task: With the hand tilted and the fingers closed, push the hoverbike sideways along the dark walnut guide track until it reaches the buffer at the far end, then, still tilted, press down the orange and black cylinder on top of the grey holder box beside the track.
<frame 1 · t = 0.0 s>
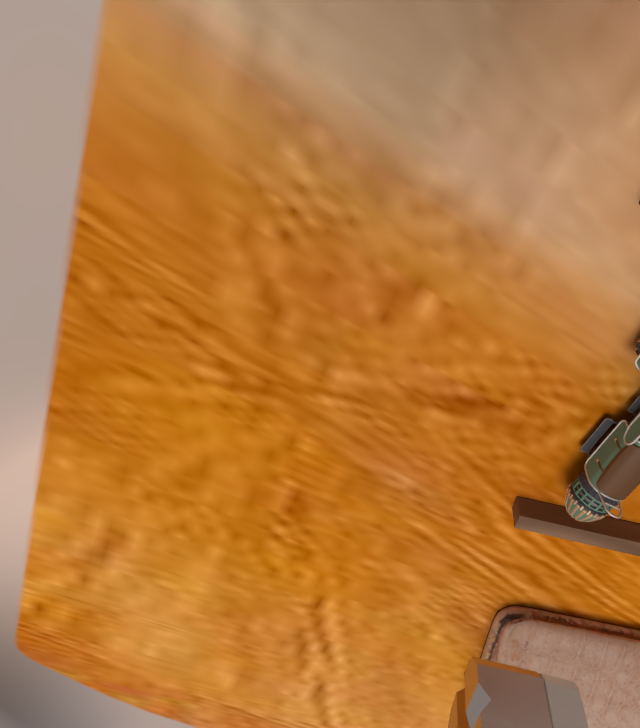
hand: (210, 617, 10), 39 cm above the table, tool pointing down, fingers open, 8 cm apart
case: (571, 672, 68), on the table
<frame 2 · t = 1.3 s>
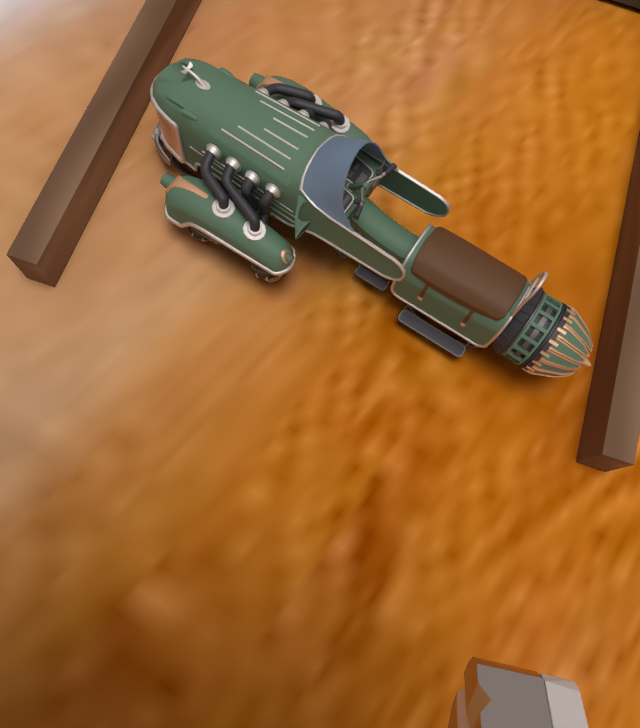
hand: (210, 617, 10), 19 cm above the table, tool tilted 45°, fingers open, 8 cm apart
track: (399, 123, 35), on the table
hoverbike: (356, 258, 33), on the table
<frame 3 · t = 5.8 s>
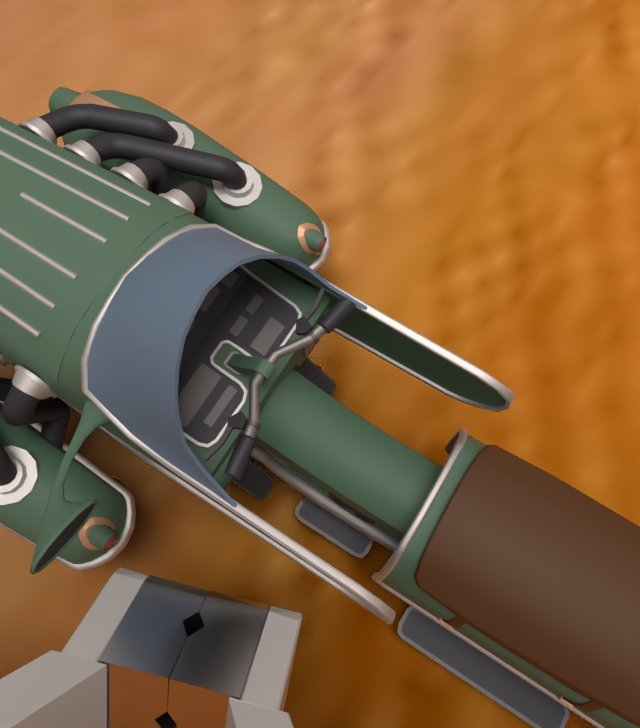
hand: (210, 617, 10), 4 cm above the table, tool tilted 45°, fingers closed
hoverbike: (307, 462, 15), on the table, touching gripper
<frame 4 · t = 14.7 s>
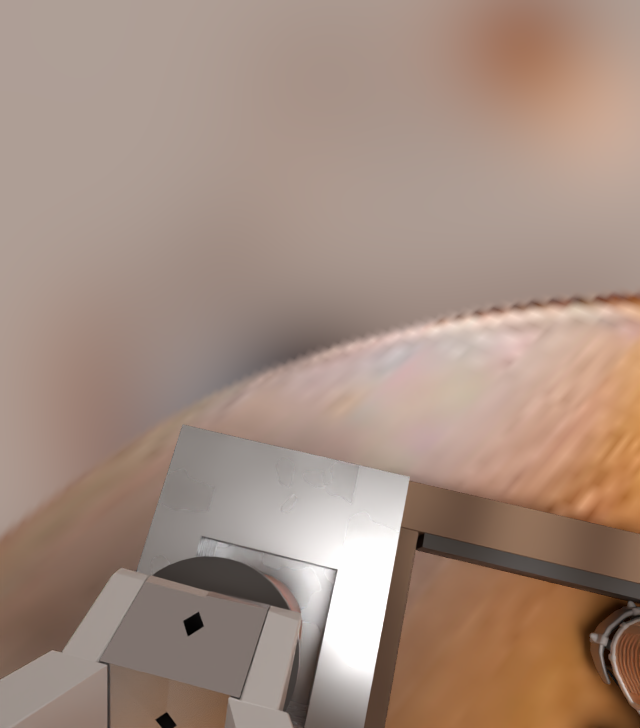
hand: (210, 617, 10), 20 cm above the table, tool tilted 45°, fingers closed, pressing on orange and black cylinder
orange and black cylinder: (234, 637, 14), point 15 cm above the table, slide at -0.4 cm, touching gripper
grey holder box: (280, 608, 28), on the table
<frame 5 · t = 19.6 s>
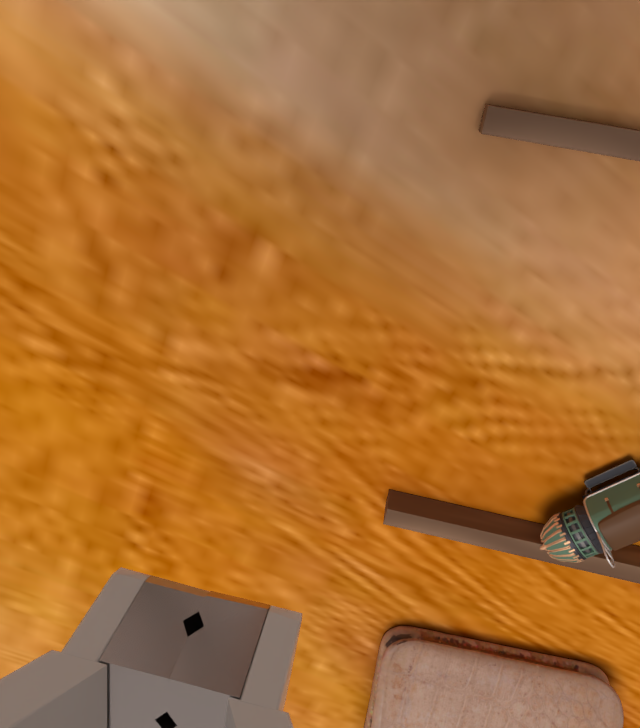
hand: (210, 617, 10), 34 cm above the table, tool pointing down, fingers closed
case: (474, 708, 59), on the table
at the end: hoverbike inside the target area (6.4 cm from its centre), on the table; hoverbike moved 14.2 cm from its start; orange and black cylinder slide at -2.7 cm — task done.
